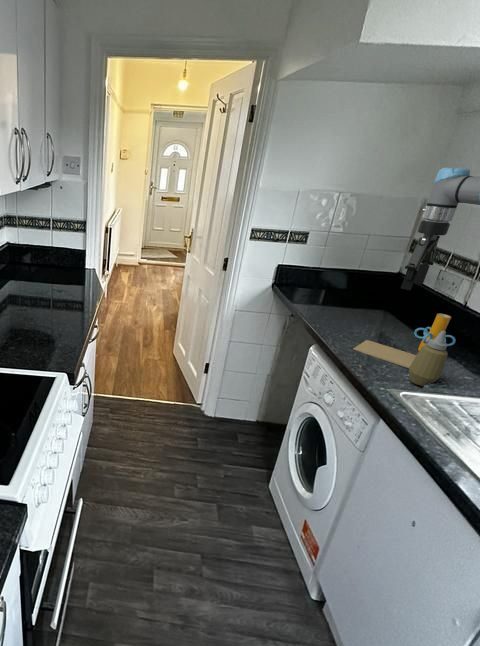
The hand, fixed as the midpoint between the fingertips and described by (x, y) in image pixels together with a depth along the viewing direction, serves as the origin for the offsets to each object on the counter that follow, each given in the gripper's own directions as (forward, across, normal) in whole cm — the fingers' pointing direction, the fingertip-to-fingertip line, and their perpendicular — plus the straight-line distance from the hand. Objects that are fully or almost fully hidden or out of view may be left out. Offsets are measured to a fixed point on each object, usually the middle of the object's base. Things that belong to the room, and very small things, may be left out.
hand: (411, 286), depth 138 cm
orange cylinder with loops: (+27, -19, +8) cm, 34 cm away
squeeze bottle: (+27, +12, +13) cm, 32 cm away
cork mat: (+26, -4, -1) cm, 27 cm away
